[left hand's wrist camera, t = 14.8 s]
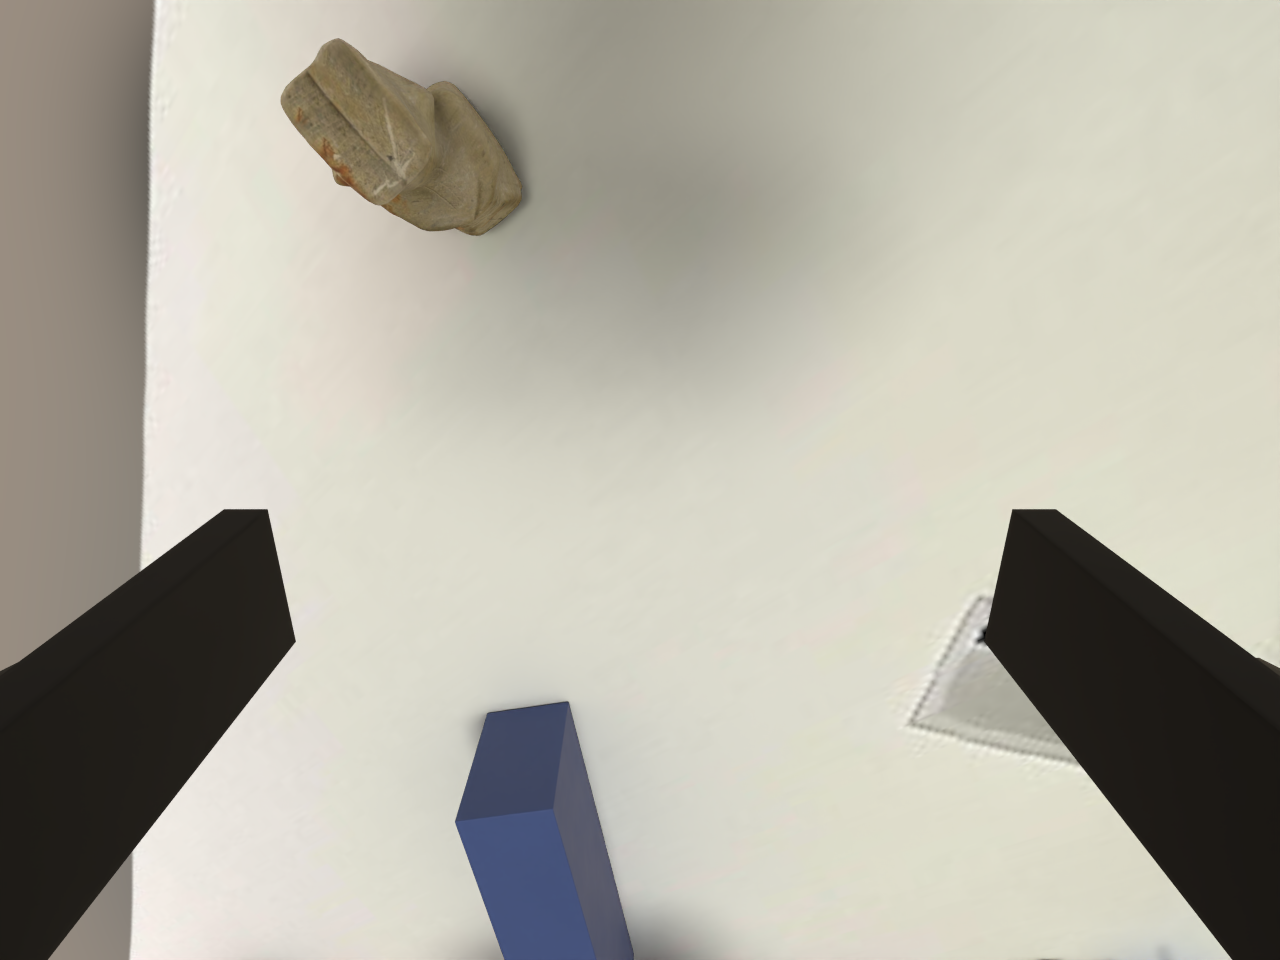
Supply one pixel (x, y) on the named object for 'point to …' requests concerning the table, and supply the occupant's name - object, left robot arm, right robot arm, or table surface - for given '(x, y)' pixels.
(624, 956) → the box
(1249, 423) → the table surface
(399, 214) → the sculpture
